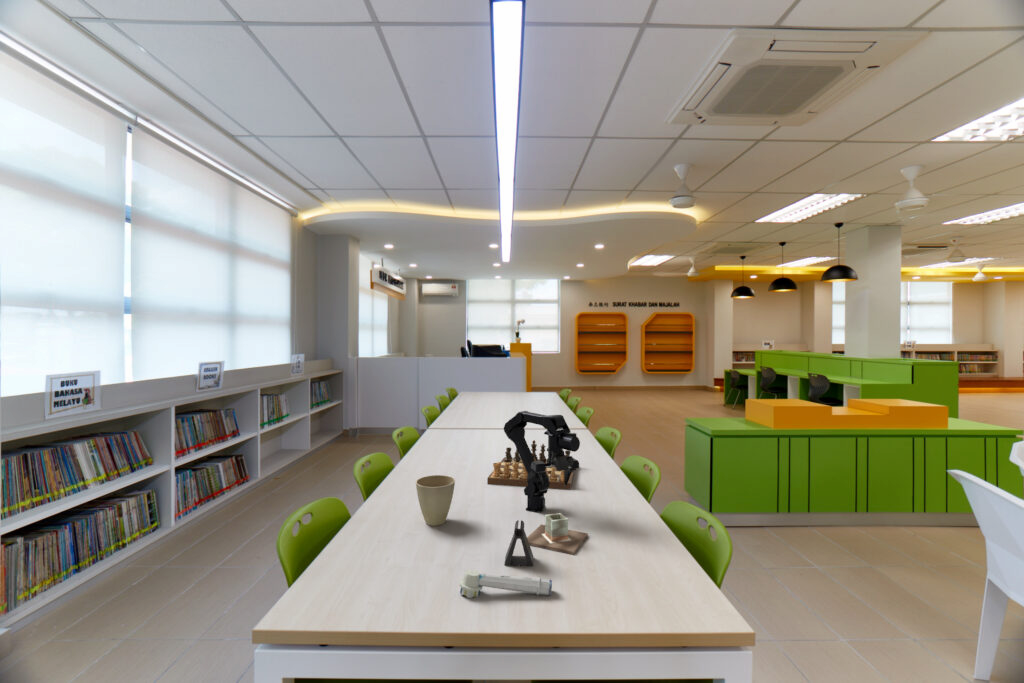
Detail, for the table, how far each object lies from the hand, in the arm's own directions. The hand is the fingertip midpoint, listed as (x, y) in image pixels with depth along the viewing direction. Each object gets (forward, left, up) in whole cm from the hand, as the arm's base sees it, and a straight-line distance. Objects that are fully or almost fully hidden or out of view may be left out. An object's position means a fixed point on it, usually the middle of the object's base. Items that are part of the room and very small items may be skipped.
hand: (555, 486), depth 183 cm
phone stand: (+3, -40, -12) cm, 42 cm away
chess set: (-30, +48, -13) cm, 58 cm away
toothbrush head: (+7, -58, -12) cm, 60 cm away
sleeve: (+8, -20, -11) cm, 24 cm away
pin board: (+8, -20, -12) cm, 25 cm away
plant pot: (-39, -26, -12) cm, 48 cm away
